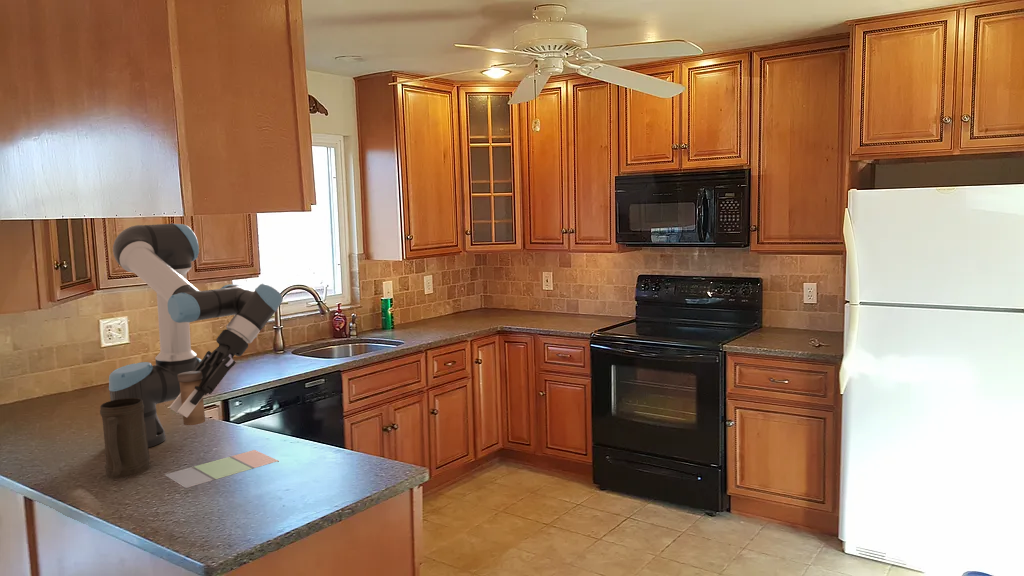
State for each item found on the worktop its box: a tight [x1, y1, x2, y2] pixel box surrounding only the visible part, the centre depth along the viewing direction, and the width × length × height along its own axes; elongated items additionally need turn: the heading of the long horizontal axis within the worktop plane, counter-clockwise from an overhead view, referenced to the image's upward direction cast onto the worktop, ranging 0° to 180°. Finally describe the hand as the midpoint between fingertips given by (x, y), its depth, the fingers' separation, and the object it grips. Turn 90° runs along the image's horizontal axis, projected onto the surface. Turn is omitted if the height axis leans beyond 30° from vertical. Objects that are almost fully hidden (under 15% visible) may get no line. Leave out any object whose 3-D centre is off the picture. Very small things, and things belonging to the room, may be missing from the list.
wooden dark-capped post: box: [178, 371, 206, 426], centre depth 180 cm, size 6×6×12 cm
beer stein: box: [99, 398, 151, 479], centre depth 184 cm, size 15×11×20 cm
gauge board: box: [164, 449, 280, 489], centre depth 186 cm, size 14×24×1 cm, turn 135°
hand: (178, 412), depth 178 cm, fingers closed on wooden dark-capped post, 5 cm apart
